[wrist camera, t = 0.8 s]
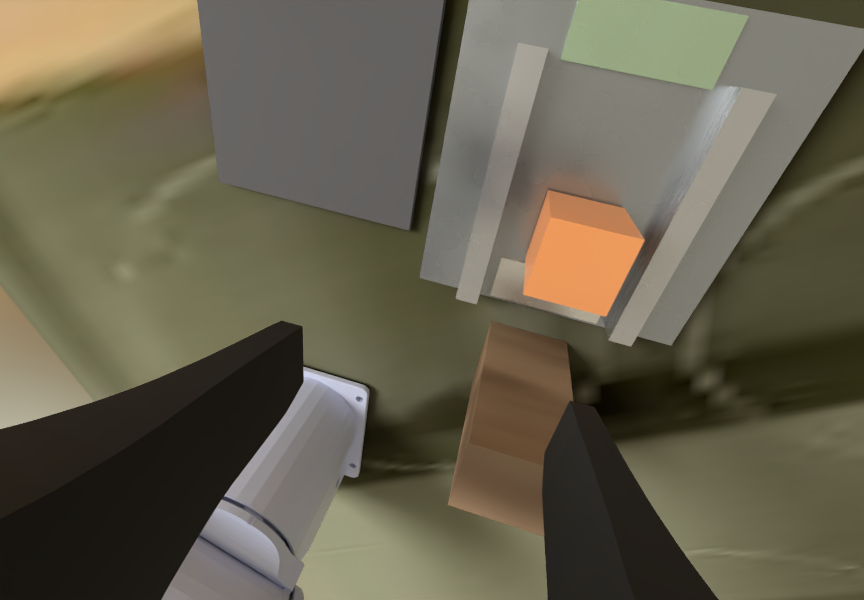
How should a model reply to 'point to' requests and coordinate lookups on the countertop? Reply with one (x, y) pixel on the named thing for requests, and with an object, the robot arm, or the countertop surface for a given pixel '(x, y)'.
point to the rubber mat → (323, 99)
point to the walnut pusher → (511, 426)
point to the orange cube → (580, 253)
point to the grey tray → (623, 139)
